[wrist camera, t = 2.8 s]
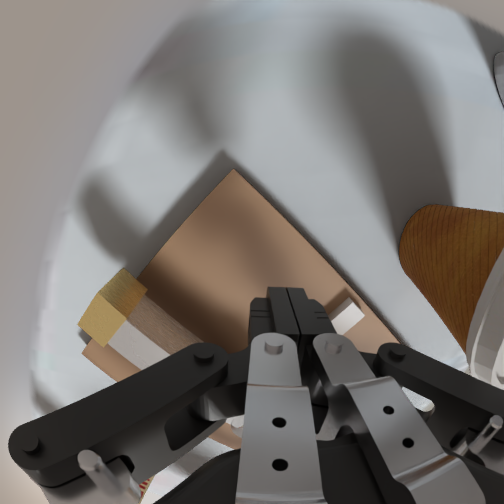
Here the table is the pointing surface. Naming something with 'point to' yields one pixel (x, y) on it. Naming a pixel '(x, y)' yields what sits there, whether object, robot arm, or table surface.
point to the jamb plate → (240, 279)
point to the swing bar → (137, 327)
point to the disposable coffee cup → (462, 279)
